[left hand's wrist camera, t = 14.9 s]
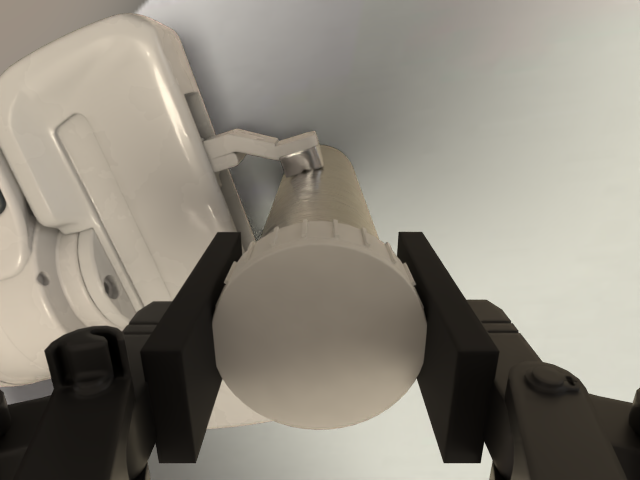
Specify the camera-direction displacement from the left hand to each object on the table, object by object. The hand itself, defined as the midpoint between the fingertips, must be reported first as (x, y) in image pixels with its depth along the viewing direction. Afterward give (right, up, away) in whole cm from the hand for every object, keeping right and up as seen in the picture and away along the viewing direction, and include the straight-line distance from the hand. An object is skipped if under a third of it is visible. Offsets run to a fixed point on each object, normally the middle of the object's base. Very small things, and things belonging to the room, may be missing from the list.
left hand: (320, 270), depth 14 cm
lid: (0, -1, -4) cm, 4 cm away
